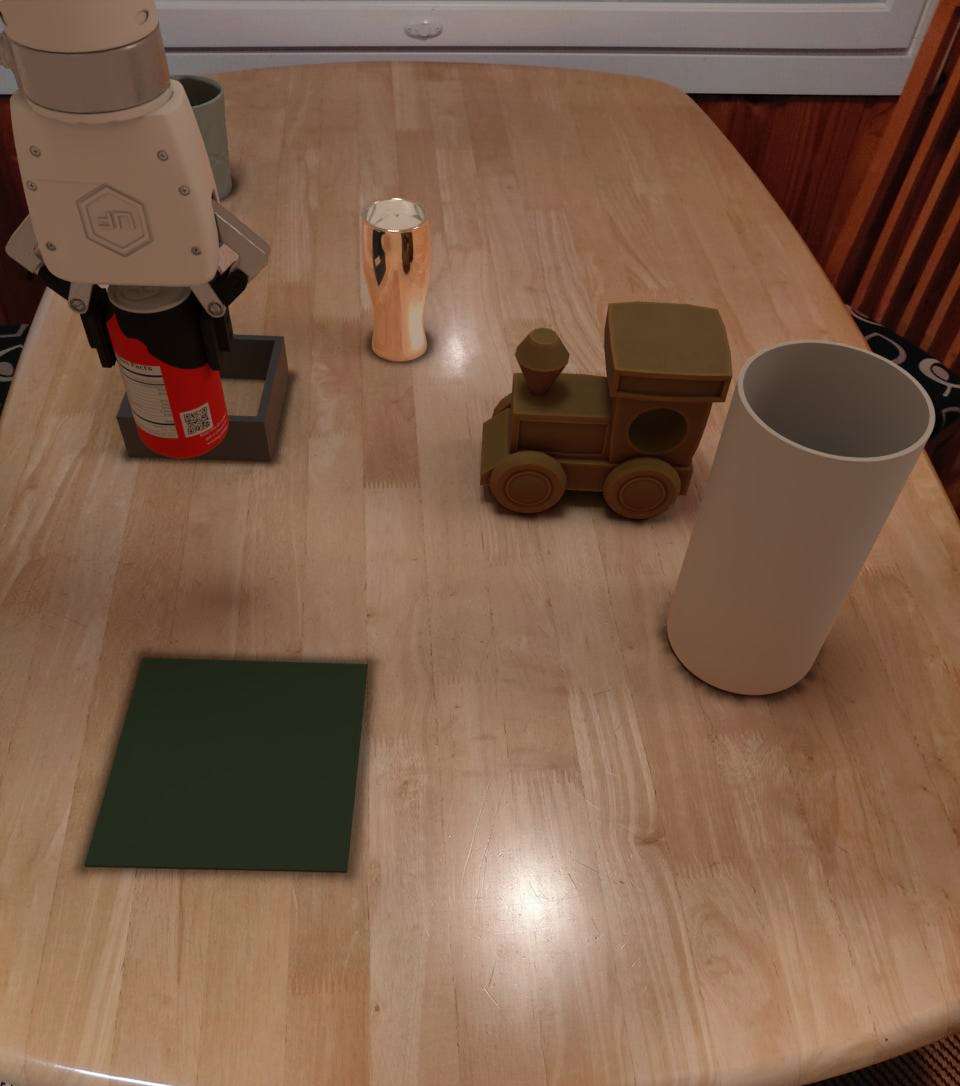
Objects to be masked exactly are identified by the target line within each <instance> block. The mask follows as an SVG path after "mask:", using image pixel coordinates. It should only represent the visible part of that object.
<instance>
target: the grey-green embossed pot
mask: <svg viewBox="0 0 960 1086" xmlns="http://www.w3.org/2000/svg"><path fill="white" fill-rule="evenodd" d="M170 79H172V80H177V81H179V82H180V83H181V84H182V86H183V88H184V90H185V93H186V95H187V97H188V100H189V102H190V105H191V107H192V110H193V113H194V115H195V118H196V121H197V124H198V127H199V130H200V133H201V136H202V139H203V142H204V145H205V148H206V152H207V155H208V158H209V162H210V166H211V169H212V173H213V177H214V181H215V184H216V189H217V193H218V197H219V201H221V200H222V199H224V198H226V197H227V196H228V195H229V194H230V193H231V191H232V188H233V180H232V173H231V168H230V150H229V140H228V139H229V138H228V133H227V125H226V122H227V121H226V104H225V89H224V87H223V85H222V84H221V82H218V81H217V80H215V79H213V78H210V77H208V76H203V75H197V74H172V75H170Z"/></svg>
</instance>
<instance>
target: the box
mask: <svg viewBox="0 0 960 1086" xmlns="http://www.w3.org/2000/svg"><path fill="white" fill-rule="evenodd" d="M233 335H234V347H233V351H232V352H226V355H225V359H224V363H223V366H222V370H221V371H219V374H220V379H237V380H239V379H241V380H243V379H245V380H265V381H264V385H263V389H262V394H261V398H260V401H259V406H258V410H257V415H233V414H231V415H229V414H228V418H229V426H228V431H227V433H226V435H225V437H224V438H223V440H222V441H221V442H220V443H219V444H218V445H217V446H215V447H214V448H213V449H212V450H210V451H209V452H207V453H205V454H203V455H201V456H198V457H194V458H188V459H187V460H205V461H206V460H209V461H211V460H212V461H237V462H263V463H265V462H266V463H271V462H272V460H273V459H272V458H273V454H274V450H275V445H276V440H277V436H278V431H279V426H280V422H281V417H282V411H283V408H284V402H285V399H286V394H287V388H288V384H289V379H290V372H289V363H288V357H287V349H286V343H285V336H284V335H263V334H262V335H260V334H238V333H237V334H236V333H235V334H234V333H233ZM115 418H116V421H117V424H118V427H119V430H120V433H121V436H122V440H123V442H124V446H125V450H126V453H127V455H128V457H129V458H146V459H147V458H149V459H172V458H171V457H168V456H164V455H161V454H158V453H156V452H154V451H152V450H151V449H149V448H148V447H147V446H146V445H145V444H144V443H143V441H142V440H141V438H140V436H139V433H138V429H137V426H136V423H135V419H134V416H133V413H132V409H131V406H130V403H129V399H128V396H127V393H126V391H125V392H124V395H123V398H122V401H121V403H120V406H119V409H118V411H117V413H116V416H115ZM174 459H177V458H174ZM177 460H178V459H177Z"/></svg>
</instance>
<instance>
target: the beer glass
mask: <svg viewBox="0 0 960 1086" xmlns="http://www.w3.org/2000/svg"><path fill="white" fill-rule="evenodd" d="M429 215H430V214H429V210H428V209H427V207H425V205H423V204H422V203H420V202H418V201H416V200H413V199H411V198H405V197H383V198H379V199H376V200H373V201H371V202H369V203H368V204H366V205H365V206H364V207H363V208H362V211H361V234H360V235H361V236H360V237H361V240H360V244H361V245H360V246H361V260H362V261H361V262H362V270H363V274H364V281H365V284H366V288H367V292H368V296H369V301H370V305H371V308H372V313H373V331H372V337H371V349H372V351H373V353H374V354H376V355H377V356H378V357H379V358H380V359H381V358H382V359H384V360H386V361H390V362H409V361H412V360H416V359H417V358H419V357H421V356H423V354H425V352H426V351H427V348H428V340H427V336H426V331H425V325H424V310H425V303H426V298H427V293H428V287H429V282H430V275H431V267H432V265H431V264H432V247H431V246H432V245H431V242H432V241H431V230H430V218H429Z"/></svg>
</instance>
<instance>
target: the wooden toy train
mask: <svg viewBox="0 0 960 1086" xmlns="http://www.w3.org/2000/svg"><path fill="white" fill-rule="evenodd" d="M603 331H604V333H603V350H604V351H603V352H604V363H605V372H606V376H604V375H603V376H602V375H595V374H594V375H593V374H587V373H570V372H569V373H568V372H567V373H566V372H563V370H564V369H565V368H566V366H567V365H568V364H569V360H570V356H571V353H569V351H568V349H567V347H566V345H565V344H564V343H563V341H562V340H561V337H559V335H558V333H557V332H556V331H555V330H553V329H551V328H548V327H538V328H537V327H536V328H534V329H533V330H531V331H530V332H529V333H528V334H527V335H526V336H525V337H524V338H523V339H522V341H521V342H520V343H519V344H518V345H517V346H516V349H515V351H514V356H515V359H516V362H517V364H518V366H519V368H520V370H521V372H512V373H513V375H512V385H511V392H510V393H508V394H507V395H505V396H504V397H503V398H501V399H500V401H498V403H497V404H496V406H495V407H494V409H493V412H492V416H491V417H490V418H489V419H487V420H486V421H484V422H483V423H482V432H481V433H482V434H481V453H480V455H481V456H480V458H481V459H480V479H479V485H480V486H485V487H490V488H489V489H490V492H491V493H492V495H493V496H494V498H495V500H496V501H497V502H498V503H499V504H500V505H501V506H503V507H504V508H505V509H508V510H510V511H512V512H516V513H521V514H536V513H540V512H544V511H546V510H548V509H551V508H552V507H553V506H555V505H557V503H558V502H559V501H560V500H561V499H562V497H563V496H564V494H565V492H566V491H584V492H602V495H603V498H604V501H605V502H606V505H608V507H609V508H610V509H611V510H612V511H614V512H615V513H616V514H618V515H620V516H622V517H624V518H628V519H634V520H641V519H643V520H644V519H650V518H653V517H656V516H659V515H661V514H662V513H665V512H666V511H668V510H669V509H670V508H671V507H672V506H673V504H675V502H676V501H677V498H678V497H679V496H681V497H683V496H684V497H686V496H687V494H688V490H689V487H690V484H691V480H692V477H693V472H694V465H693V458H694V456H695V454H696V452H697V451H698V449H699V446H700V443H701V441H702V438H703V435H704V432H705V430H706V426H707V424H708V422H709V421H708V420H709V417H710V414H711V411H712V407H713V404H714V403H715V404H717V403H726V400H727V396H728V393H729V390H730V386H731V383H732V379H733V363H732V362H733V361H732V352H731V347H730V342H729V339H728V334H727V330H726V325H725V323H724V321H723V318H722V315H721V313H720V311H719V309H718V308H714V307H707V306H703V305H695V304H689V303H677V302H676V303H675V302H655V301H638V300H637V301H626V302H609V303H608V304H607V311H606V318H605V324H604V330H603Z"/></svg>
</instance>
